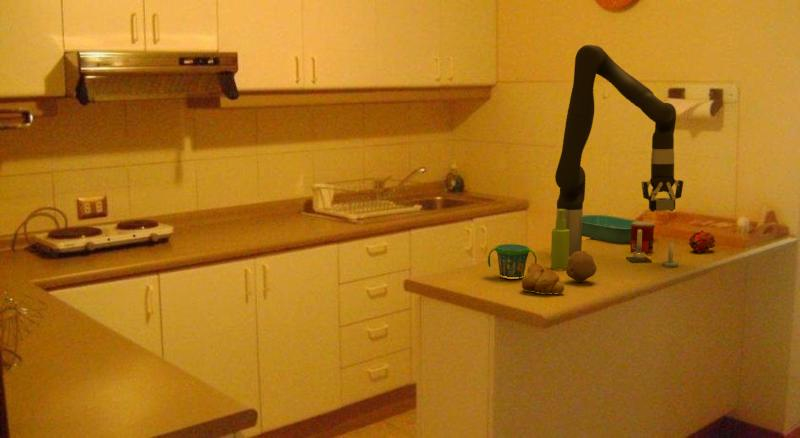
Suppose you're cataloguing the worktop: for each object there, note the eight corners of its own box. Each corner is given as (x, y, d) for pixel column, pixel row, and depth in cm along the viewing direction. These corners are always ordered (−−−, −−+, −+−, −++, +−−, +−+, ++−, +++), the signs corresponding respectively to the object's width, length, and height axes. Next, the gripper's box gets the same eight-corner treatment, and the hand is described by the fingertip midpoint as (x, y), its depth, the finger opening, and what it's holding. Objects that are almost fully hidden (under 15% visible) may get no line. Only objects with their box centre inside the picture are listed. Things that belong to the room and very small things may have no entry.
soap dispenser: (571, 266, 290) (572, 208, 287) (566, 270, 284) (567, 211, 280) (554, 264, 292) (555, 207, 289) (549, 268, 286) (550, 210, 283)
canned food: (653, 254, 309) (654, 225, 307) (630, 254, 310) (632, 224, 309) (651, 250, 316) (653, 221, 314) (629, 250, 318) (630, 221, 316)
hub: (665, 267, 287) (666, 244, 286) (660, 264, 292) (661, 241, 291) (680, 267, 287) (681, 244, 286) (674, 264, 292) (676, 241, 291)
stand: (631, 263, 295) (633, 231, 293) (625, 258, 301) (626, 228, 300) (651, 262, 295) (653, 231, 293) (645, 258, 302) (646, 228, 300)
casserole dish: (665, 241, 336) (666, 223, 335) (628, 247, 324) (628, 229, 323) (595, 228, 366) (596, 212, 365) (558, 234, 354) (559, 217, 353)
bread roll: (569, 293, 253) (570, 266, 252) (552, 299, 246) (553, 272, 245) (532, 286, 262) (533, 261, 260) (515, 292, 254) (515, 266, 253)
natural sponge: (601, 282, 266) (602, 251, 265) (585, 287, 260) (586, 255, 258) (577, 277, 273) (578, 247, 271) (561, 282, 266) (561, 251, 265)
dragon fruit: (712, 254, 317) (694, 263, 310) (695, 238, 321) (677, 247, 314) (724, 238, 312) (706, 247, 305) (707, 222, 316) (688, 231, 309)
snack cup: (538, 275, 276) (539, 245, 274) (533, 283, 266) (534, 251, 264) (491, 272, 281) (491, 242, 279) (484, 279, 271) (485, 248, 269)
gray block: (656, 210, 287) (656, 200, 286) (650, 208, 293) (650, 198, 292) (673, 210, 287) (673, 199, 287) (667, 207, 293) (667, 197, 293)
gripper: (645, 163, 283) (645, 213, 286) (687, 162, 284) (686, 211, 287) (638, 162, 291) (637, 210, 293) (679, 160, 292) (678, 208, 294)
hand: (662, 210), depth 290 cm, fingers closed on gray block, 6 cm apart
